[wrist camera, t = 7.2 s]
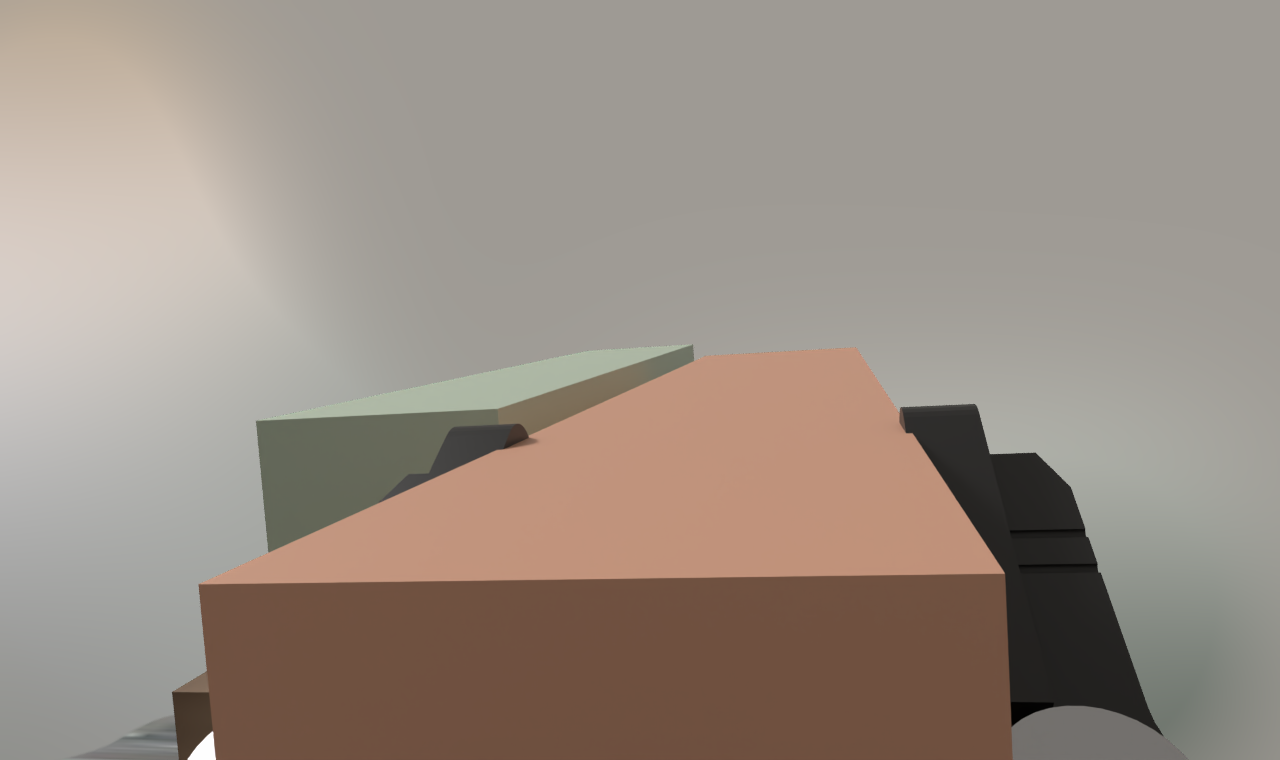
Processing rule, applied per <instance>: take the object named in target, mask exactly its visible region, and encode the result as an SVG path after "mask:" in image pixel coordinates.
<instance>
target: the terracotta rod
mask: <svg viewBox="0 0 1280 760" xmlns="http://www.w3.org/2000/svg"><path fill="white" fill-rule="evenodd" d="M899 415H900V413H899V412H898V411H897V409H896V408H895V406H894V404H893V403H892V401H891V400H890V398H889V397H888V395H887V394H886V392H885V391H884V389H883V388H882V386H881V385H880V383H879V382H878V380H877V378H876V377H875V375H874V374H873V372H872V371H871V369H870V368H869V366H868V365H867V363H866V362H865V360H864V359H863V357H862V356H861V354H860V353H859V351H858V350H857V348H856V347H855V348H837V349H819V350H802V351H785V352H767V353H749V354H731V355H714V356H704V357H702V358H700V359H698V360H696V361H693V362H691V363H689V364H687V365H684V366H682V367H680V368H678V369H676V370H673V371H671V372H669V373H667V374H665V375H662V376H660V377H658V378H656V379H653V380H651V381H649V382H647V383H645V384H642V385H640V386H638V387H636V388H633V389H631V390H629V391H627V392H625V393H622V394H620V395H618V396H616V397H613V398H611V399H609V400H607V401H605V402H602V403H600V404H598V405H596V406H593V407H591V408H589V409H587V410H585V411H582V412H580V413H578V414H576V415H573V416H571V417H569V418H567V419H565V420H562V421H560V422H558V423H556V424H553V425H551V426H549V427H547V428H545V429H542V430H540V431H538V432H536V433H533V434H531V435H529V438H527V439H525V440H523V441H521V442H519V443H516V444H514V445H512V446H510V447H508V448H505V449H503V450H496V451H494V452H491V453H489V454H487V455H485V456H482V457H480V458H478V459H476V460H474V461H471V462H469V463H467V464H465V465H462V466H460V467H458V468H456V469H454V470H451V471H449V472H447V473H445V474H442V475H440V476H438V477H436V478H434V479H431V480H429V481H427V482H425V483H422V484H420V485H418V486H416V487H414V488H411V489H409V490H407V491H405V492H402V493H400V494H398V495H396V496H394V497H391V498H389V499H387V500H385V501H382V502H380V503H378V504H376V505H374V506H371V507H369V508H367V509H365V510H362V511H360V512H358V513H356V514H354V515H351V516H349V517H347V518H345V519H343V520H340V521H338V522H336V523H334V524H331V525H329V526H327V527H325V528H323V529H320V530H318V531H316V532H314V533H311V534H309V535H307V536H305V537H303V538H300V539H298V540H296V541H294V542H291V543H289V544H287V545H285V546H283V547H280V548H278V549H276V550H274V551H271V552H269V553H267V554H265V555H263V556H260V557H258V558H256V559H254V560H251V561H249V562H247V563H245V564H243V565H240V566H238V567H236V568H234V569H232V570H229V571H227V572H225V573H223V574H221V575H218V576H216V577H214V578H212V579H209V580H207V581H205V582H203V583H200V584H199V594H200V603H201V614H202V625H203V635H204V645H205V655H206V665H207V676H208V686H209V697H210V707H211V717H212V727H213V738H214V748H215V758H216V760H1013V754H1012V729H1011V705H1010V681H1009V656H1008V632H1007V608H1006V583H1005V573H1004V571H1003V570H1002V568H1001V567H1000V565H999V564H998V562H997V561H996V559H995V558H994V556H993V554H992V553H991V551H990V550H989V548H988V547H987V545H986V544H985V542H984V541H983V539H982V538H981V536H980V535H979V533H978V532H977V530H976V529H975V527H974V526H973V524H972V523H971V521H970V520H969V518H968V517H967V515H966V514H965V512H964V510H963V509H962V507H961V506H960V504H959V503H958V501H957V500H956V498H955V497H954V495H953V494H952V492H951V491H950V489H949V488H948V486H947V485H946V483H945V482H944V480H943V479H942V477H941V476H940V474H939V473H938V471H937V470H936V468H935V466H934V465H933V463H932V462H931V460H930V459H929V457H928V456H927V454H926V453H925V451H924V450H923V448H922V447H921V445H920V444H919V442H918V441H917V439H916V438H915V436H914V435H913V433H905V431H904V429H903V428H902V426H901V424H900V423H899Z"/></svg>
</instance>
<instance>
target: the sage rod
mask: <svg viewBox="0 0 1280 760" xmlns="http://www.w3.org/2000/svg"><path fill="white" fill-rule="evenodd" d="M693 361H694V354H693V345H678V346H661V347H644V348H629V349H611V350H595V351H585V352H580V353H576V354H571V355H566V356H562V357H557V358H552V359H547V360H542V361H538V362H533V363H528V364H523V365H519V366H514V367H510V368H505V369H500V370H495V371H490V372H486V373H481V374H476V375H472V376H466V377H462V378H457V379H452V380H447V381H443V382H438V383H433V384H429V385H424V386H419V387H414V388H409V389H405V390H400V391H395V392H390V393H386V394H381V395H376V396H371V397H367V398H362V399H357V400H352V401H348V402H343V403H339V404H334V405H329V406H324V407H320V408H314V409H310V410H305V411H301V412H296V413H291V414H286V415H282V416H277V417H272V418H268V419H262V420H258V421H256V425H257V436H258V446H259V457H260V467H261V478H262V489H263V499H264V510H265V521H266V531H267V542H268V552H271V551H274V550H276V549H278V548H280V547H283V546H285V545H287V544H289V543H291V542H294V541H296V540H298V539H300V538H303V537H305V536H307V535H309V534H311V533H314V532H316V531H318V530H320V529H323V528H325V527H327V526H329V525H331V524H334V523H336V522H338V521H340V520H343V519H345V518H347V517H349V516H351V515H354V514H356V513H358V512H360V511H362V510H365V509H367V508H369V507H371V506H374V505H376V504H377V503H378V502H379V501H380V500H382V499H383V498H384V497H385V496H386V495H387V494H388V493H389V492H390V491H391V490H392V489H393V488H394V487H395V486H396V485H397V484H398V483H400V482H401V481H402V480H403V479H404V478H405V477H406V476H407V475H408V474H425V473H429V471H430V469H431V467H432V465H433V463H434V461H435V459H436V457H437V455H438V452H439V450H440V448H441V446H442V444H443V442H444V440H445V438H446V436H447V434H448V432H449V431H450V430H451V429H452V428H453V427H457V426H479V425H501V424H521V425H522V426H523V427H524V428H525V430H526V431H527V434H528V436H529V435H531V434H533V433H536V432H538V431H540V430H542V429H545V428H547V427H549V426H551V425H553V424H556V423H558V422H560V421H562V420H565V419H567V418H569V417H571V416H573V415H576V414H578V413H580V412H582V411H585V410H587V409H589V408H591V407H593V406H596V405H598V404H600V403H602V402H605V401H607V400H609V399H611V398H613V397H616V396H618V395H620V394H622V393H625V392H627V391H629V390H631V389H633V388H636V387H638V386H640V385H642V384H645V383H647V382H649V381H651V380H653V379H656V378H658V377H660V376H662V375H665V374H667V373H669V372H671V371H673V370H676V369H678V368H680V367H682V366H684V365H687V364H689V363H691V362H693Z"/></svg>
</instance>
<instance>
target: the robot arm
mask: <svg viewBox="0 0 1280 760" xmlns="http://www.w3.org/2000/svg"><path fill="white" fill-rule="evenodd" d="M899 423H900V424H901V426H902V428H903V429H904V431H905V433H913V435H914V436H915V438H916V439H917V441H918V442H919V444H920V445H921V447H922V448H923V450H924V451H925V453H926V454H927V456H928V457H929V459H930V460H931V462H932V463H933V465H934V466H935V468H936V470H937V471H938V473H939V474H940V476H941V477H942V479H943V480H944V482H945V483H946V485H947V486H948V488H949V489H950V491H951V492H952V494H953V495H954V497H955V498H956V500H957V501H958V503H959V504H960V506H961V507H962V509H963V510H964V512H965V514H966V515H967V517H968V518H969V520H970V521H971V523H972V524H973V526H974V527H975V529H976V530H977V532H978V533H979V535H980V536H981V538H982V539H983V541H984V542H985V544H986V545H987V547H988V548H989V550H990V551H991V553H992V554H993V556H994V558H995V559H996V561H997V562H998V564H999V565H1000V567H1001V568H1002V570H1003V571H1004V573H1005V583H1006V608H1007V632H1008V656H1009V681H1010V705H1011V729H1012V754H1013V760H1188V759H1187V758H1186V756H1185V755H1184V754H1183V753H1182V752H1181V751H1180V750H1179V749H1178V748H1176V747H1175V746H1174V745H1173V744H1172V743H1171V742H1170V741H1169V740H1167V739H1166V738H1165V737H1164V736H1163V735H1162V733H1161V731H1160V730H1159V728H1158V727H1157V725H1156V724H1155V722H1154V720H1153V718H1152V715H1151V713H1150V711H1149V709H1148V706H1147V703H1146V701H1145V698H1144V695H1143V692H1142V689H1141V686H1140V684H1139V681H1138V678H1137V675H1136V672H1135V669H1134V667H1133V663H1132V661H1131V658H1130V655H1129V652H1128V649H1127V646H1126V644H1125V641H1124V638H1123V635H1122V632H1121V629H1120V626H1119V624H1118V621H1117V618H1116V615H1115V612H1114V609H1113V606H1112V604H1111V601H1110V598H1109V595H1108V593H1107V589H1106V586H1105V584H1104V581H1103V578H1102V575H1101V573H1098V568H1097V561H1096V558H1095V555H1094V552H1093V549H1092V547H1091V544H1090V541H1089V538H1088V537H1086V535H1085V527H1084V524H1083V521H1082V518H1081V515H1080V512H1079V510H1078V507H1077V504H1076V501H1075V498H1074V495H1073V492H1072V490H1071V487H1070V486H1069V485H1068V484H1067V483H1066V482H1065V481H1064V480H1063V479H1062V478H1061V477H1060V476H1059V475H1057V473H1056V472H1055V471H1054V470H1053V469H1052V468H1050V466H1048V465H1047V464H1046V463H1045V462H1044V461H1043V460H1042V459H1041V458H1040V457H1039V456H1038V455H1037V454H1036V453H1016V454H990V453H989V449H988V446H987V442H986V438H985V434H984V430H983V426H982V422H981V418H980V415H979V411H978V408H977V406H976V405H975V404H968V405H945V406H921V407H901V408H900V415H899ZM527 438H529V436H528V434H527V431H526V430H525V428H524V427H523V426H522V425H521V424H501V425H479V426H457V427H453V428H452V429H451V430H450V431H449V432H448V434H447V436H446V438H445V440H444V442H443V444H442V446H441V448H440V450H439V452H438V455H437V457H436V459H435V461H434V463H433V465H432V467H431V469H430V471H429V473H425V474H408V475H407V476H406V477H405V478H404V479H403V480H402V481H401V482H400V483H398V484H397V485H396V486H395V487H394V488H393V489H392V490H391V491H390V492H389V493H388V494H387V495H386V496H385V497H384V498H383V499H382V500H380V501H379V502H378V503H380V502H382V501H385V500H387V499H389V498H391V497H394V496H396V495H398V494H400V493H402V492H405V491H407V490H409V489H411V488H414V487H416V486H418V485H420V484H422V483H425V482H427V481H429V480H431V479H434V478H436V477H438V476H440V475H442V474H445V473H447V472H449V471H451V470H454V469H456V468H458V467H460V466H462V465H465V464H467V463H469V462H471V461H474V460H476V459H478V458H480V457H482V456H485V455H487V454H489V453H491V452H494V451H496V450H503V449H505V448H508V447H510V446H512V445H514V444H516V443H519V442H521V441H523V440H525V439H527ZM378 503H377V504H378ZM187 760H216V758H215V748H214V738H213V732H211V733H210V734H209V735H208V736H207V737H206V738H205V739H204V740H203V741H202V742H201V743H200V744H199V745H198V746H197V747H196V749H195V750H194V751H193V753H192V754H191V755H190V757H189V758H188V759H187Z"/></svg>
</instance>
